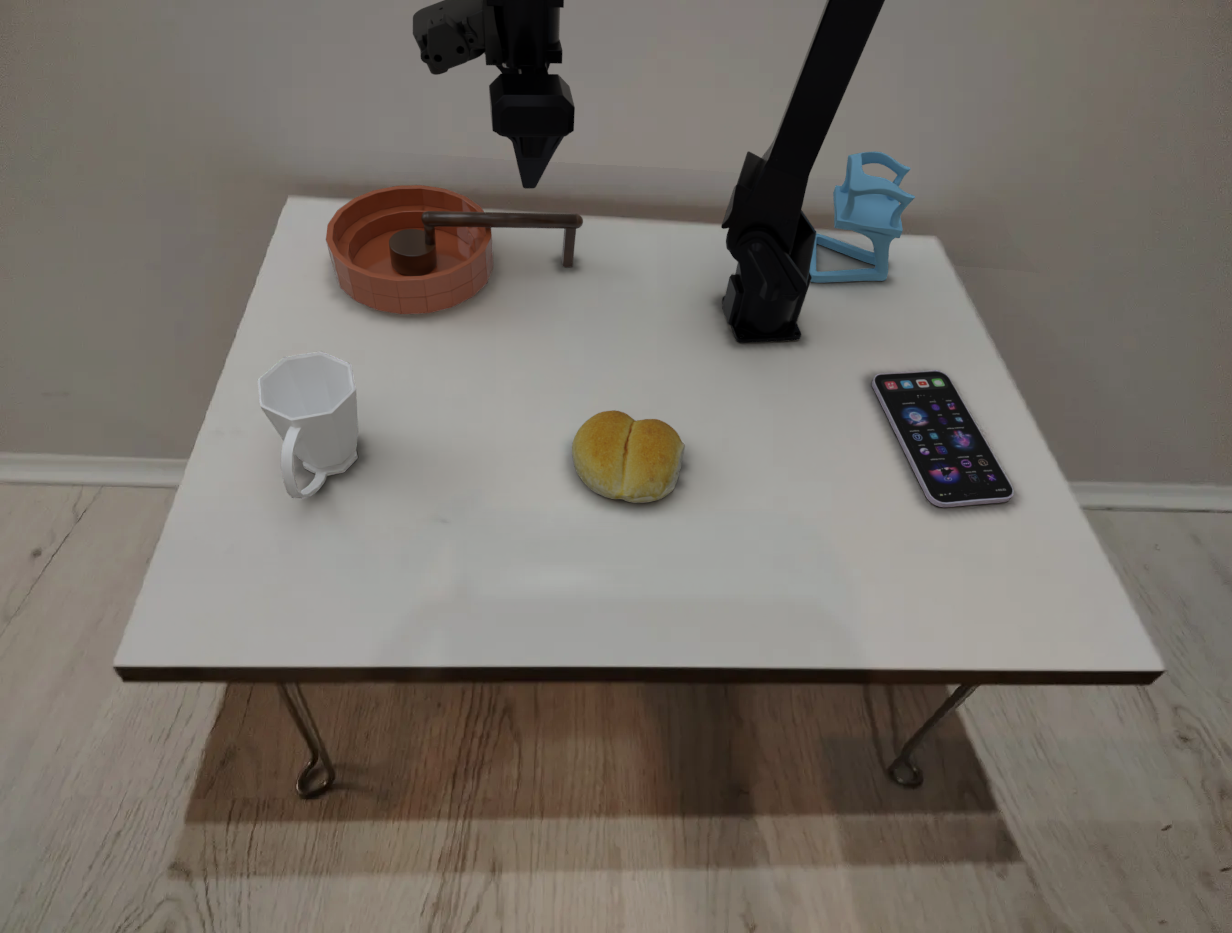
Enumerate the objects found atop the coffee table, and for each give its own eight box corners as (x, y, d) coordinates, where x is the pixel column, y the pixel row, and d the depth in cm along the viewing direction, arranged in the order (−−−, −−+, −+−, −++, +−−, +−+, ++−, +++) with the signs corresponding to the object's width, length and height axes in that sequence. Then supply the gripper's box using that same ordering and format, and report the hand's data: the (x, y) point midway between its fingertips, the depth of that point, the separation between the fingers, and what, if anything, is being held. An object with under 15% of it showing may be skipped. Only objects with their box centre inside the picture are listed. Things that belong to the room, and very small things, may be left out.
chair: (887, 295, 81) (933, 191, 71) (808, 282, 81) (843, 176, 72) (883, 251, 86) (925, 148, 76) (808, 239, 86) (841, 135, 77)
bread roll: (585, 417, 67) (588, 384, 64) (687, 442, 66) (695, 410, 63) (557, 491, 61) (558, 458, 58) (667, 519, 61) (674, 488, 57)
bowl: (488, 222, 83) (486, 183, 80) (497, 315, 74) (496, 277, 70) (340, 225, 81) (331, 186, 77) (331, 322, 71) (320, 283, 68)
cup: (385, 426, 64) (368, 355, 58) (351, 526, 58) (329, 458, 52) (299, 418, 64) (274, 345, 58) (256, 517, 58) (222, 447, 51)
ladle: (576, 250, 81) (580, 202, 77) (581, 277, 79) (586, 228, 74) (391, 248, 78) (385, 197, 73) (390, 276, 75) (384, 225, 71)
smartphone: (945, 369, 73) (1019, 497, 64) (942, 373, 73) (1015, 501, 64) (869, 373, 72) (934, 504, 63) (867, 378, 72) (931, 509, 63)
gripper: (412, -84, 62) (431, 107, 74) (411, 14, 51) (434, 221, 63) (550, -79, 64) (548, 107, 76) (579, 18, 53) (571, 218, 65)
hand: (524, 159), depth 70 cm, fingers open, 9 cm apart
